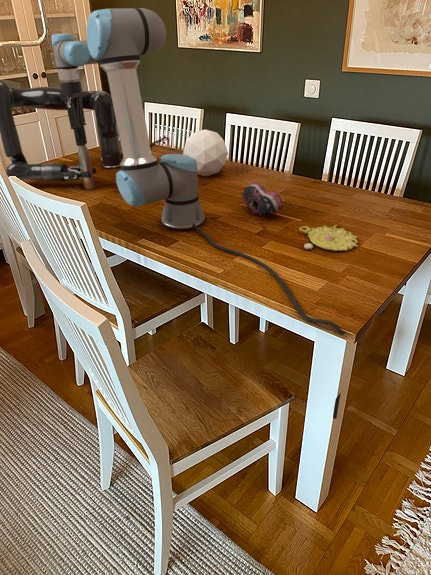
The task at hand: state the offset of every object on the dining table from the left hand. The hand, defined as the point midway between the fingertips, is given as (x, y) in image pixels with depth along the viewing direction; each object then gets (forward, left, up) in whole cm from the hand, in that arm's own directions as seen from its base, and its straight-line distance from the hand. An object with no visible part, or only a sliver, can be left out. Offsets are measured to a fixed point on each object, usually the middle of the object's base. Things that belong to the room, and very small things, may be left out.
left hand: (93, 172), depth 185 cm
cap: (0, -3, +14) cm, 14 cm away
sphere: (-19, +45, -6) cm, 49 cm away
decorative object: (+43, +93, -6) cm, 103 cm away
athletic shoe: (+21, +70, -6) cm, 73 cm away
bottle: (0, -3, -6) cm, 7 cm away
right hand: (0, -3, +12) cm, 12 cm away
